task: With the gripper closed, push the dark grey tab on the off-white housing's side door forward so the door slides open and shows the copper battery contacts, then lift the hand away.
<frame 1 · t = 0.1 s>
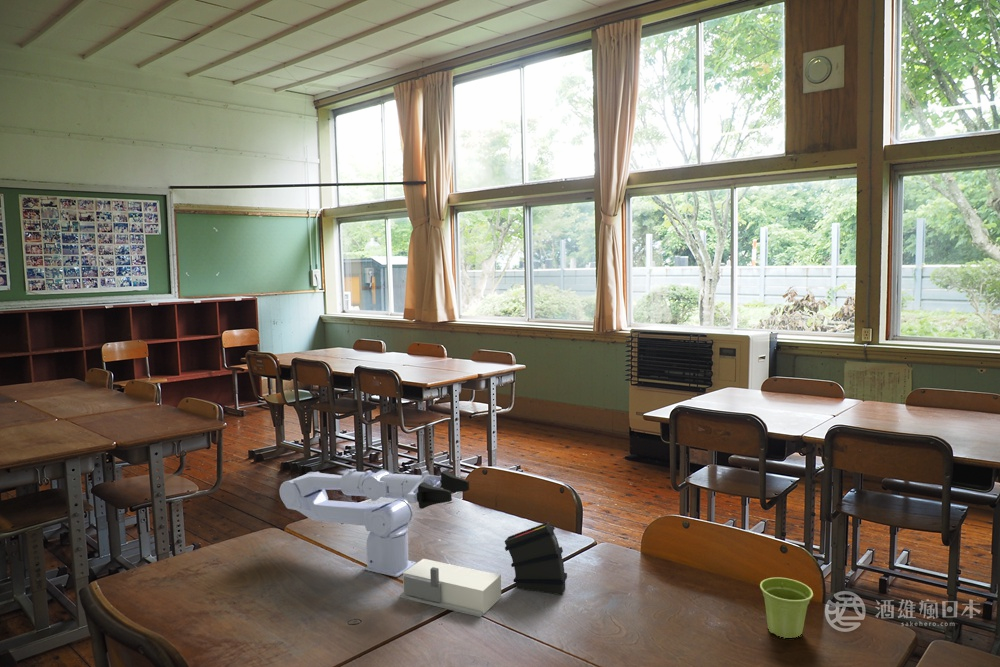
hand: (459, 490, 153), 22 cm above the table, tool horizontal, fingers open, 7 cm apart
camera housing: (452, 595, 149), on the table
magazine: (535, 589, 152), on the table
side door: (421, 581, 146), point 4 cm above the table, slide at 0.0 cm
plant pot: (785, 632, 132), on the table
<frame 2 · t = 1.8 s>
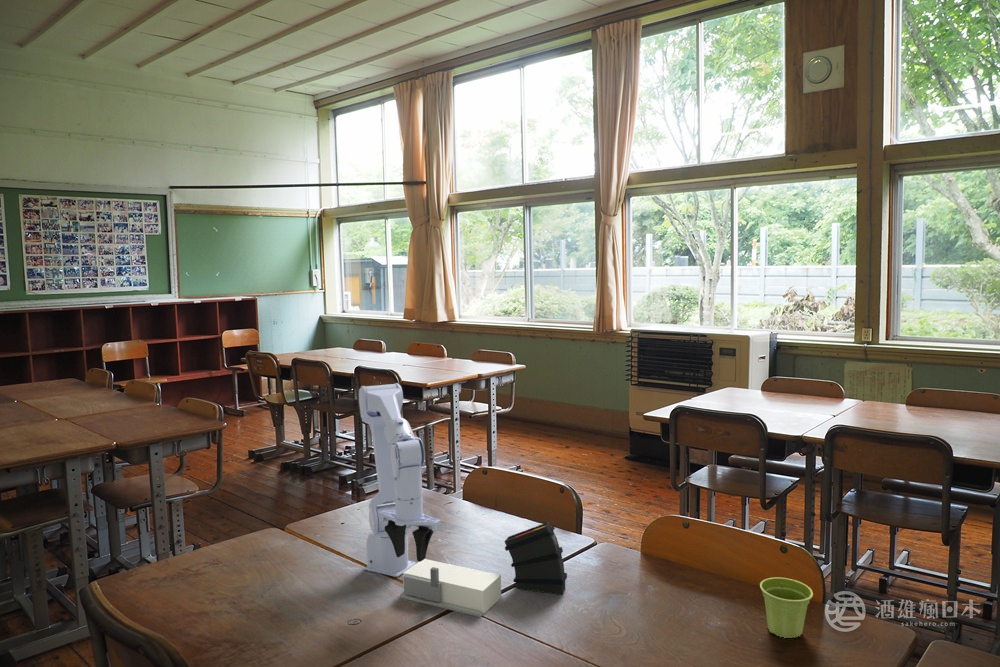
hand: (410, 557, 147), 9 cm above the table, tool pointing down, fingers open, 5 cm apart
nothing on the table moved.
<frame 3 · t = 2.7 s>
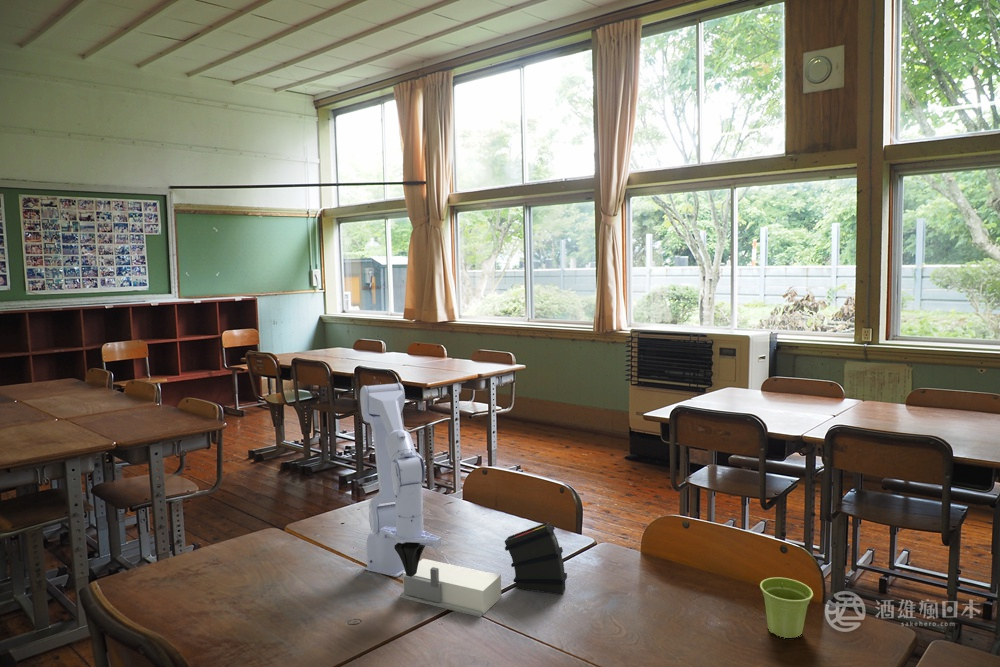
hand: (411, 574, 147), 6 cm above the table, tool pointing down, fingers closed
nothing on the table moved.
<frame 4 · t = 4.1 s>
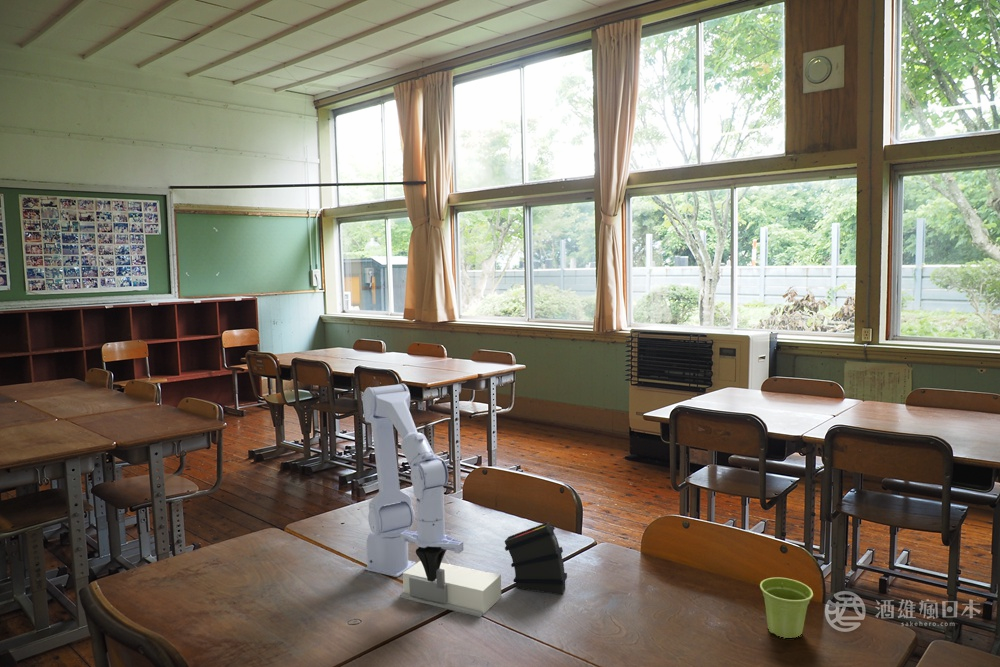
hand: (432, 579, 145), 6 cm above the table, tool pointing down, fingers closed
side door: (427, 582, 146), point 5 cm above the table, slide at 1.5 cm, touching gripper
everything else where it was.
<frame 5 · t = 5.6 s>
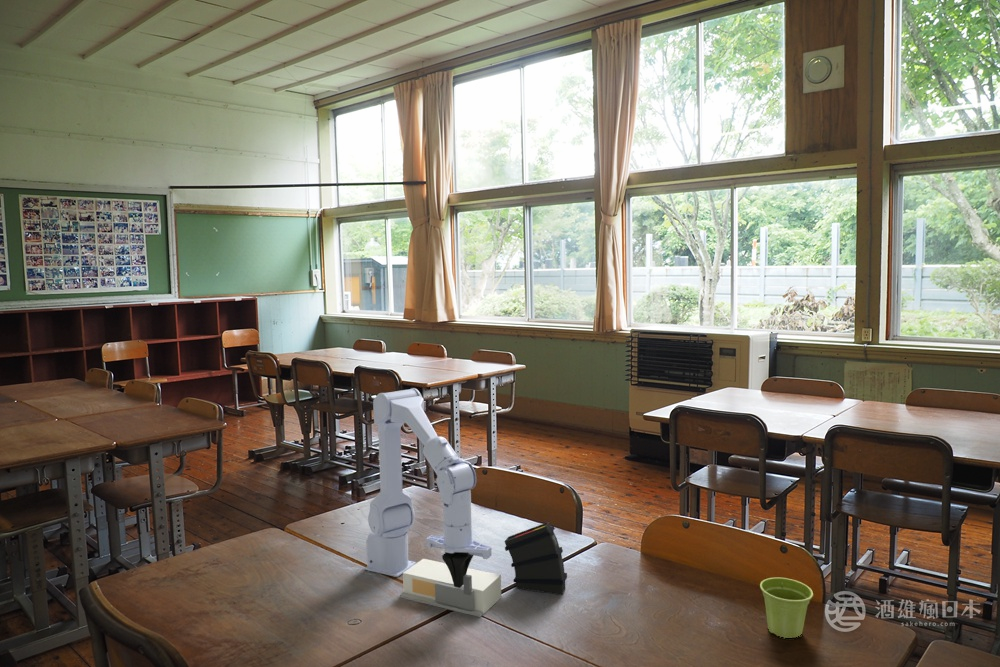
hand: (459, 585, 142), 6 cm above the table, tool pointing down, fingers closed
side door: (453, 589, 143), point 4 cm above the table, slide at 8.0 cm, touching gripper
everything else where it was.
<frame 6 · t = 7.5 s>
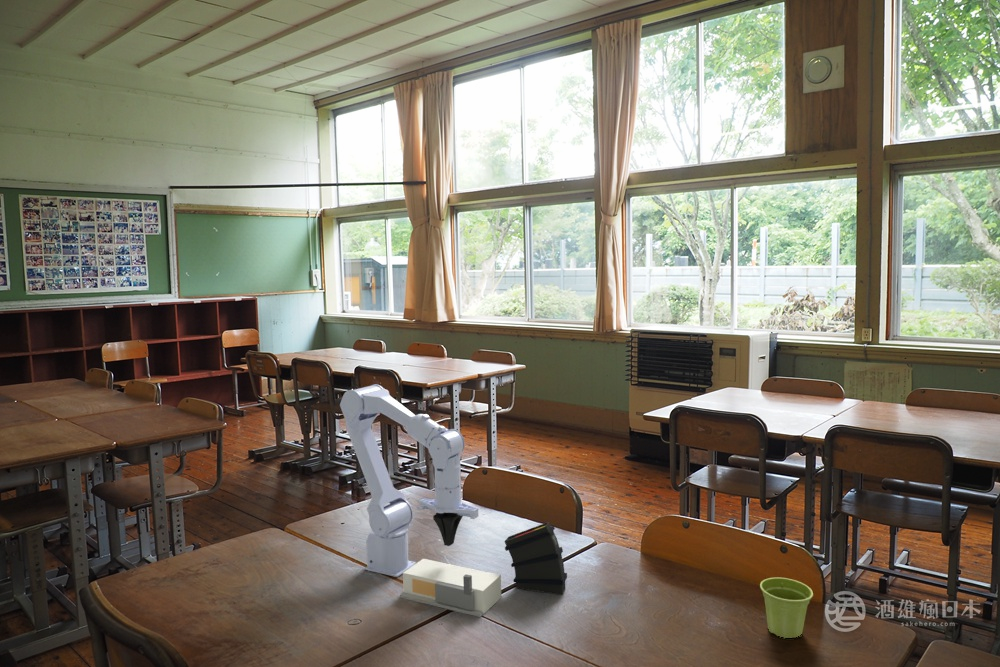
hand: (449, 544, 154), 9 cm above the table, tool pointing down, fingers closed
side door: (453, 589, 143), point 5 cm above the table, slide at 8.1 cm
everything else where it was.
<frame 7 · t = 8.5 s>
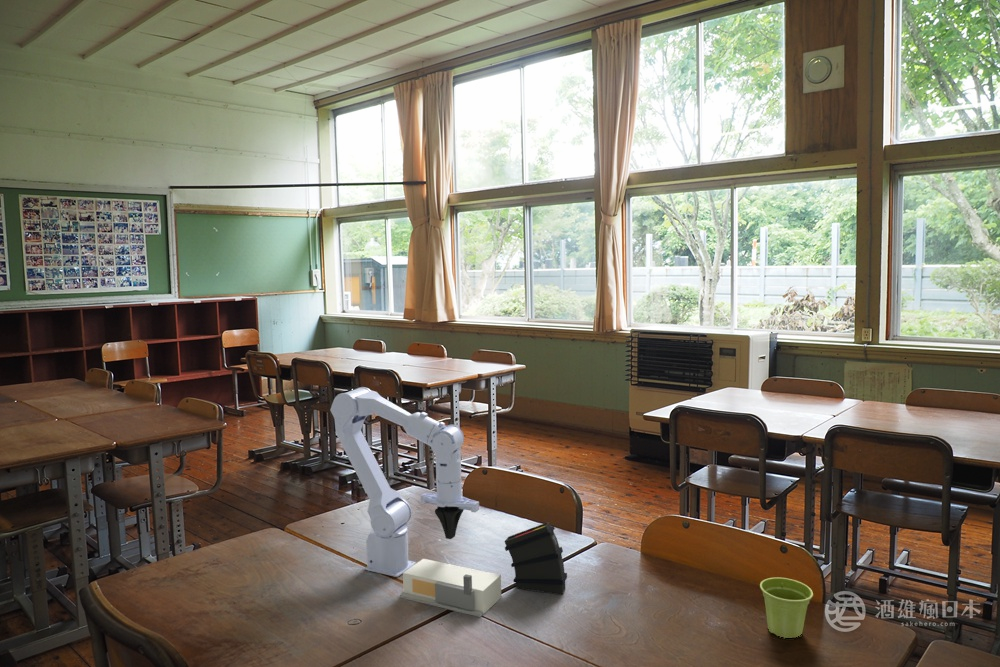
hand: (450, 537, 158), 9 cm above the table, tool pointing down, fingers closed
nothing on the table moved.
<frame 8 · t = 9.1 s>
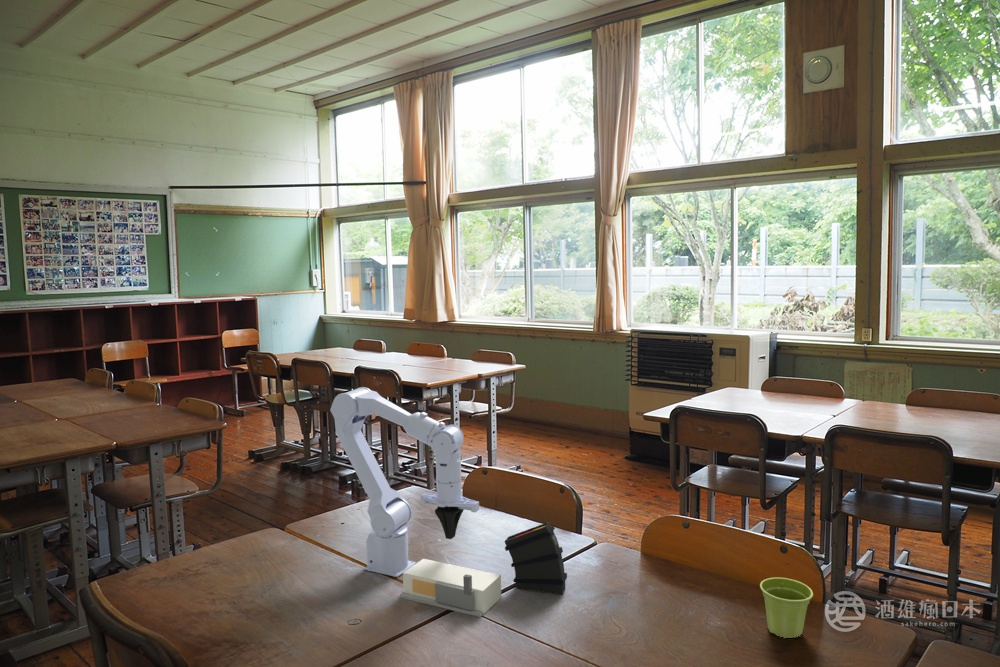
hand: (450, 537, 158), 9 cm above the table, tool pointing down, fingers closed
nothing on the table moved.
at the end: side door slide at 8.1 cm; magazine moved 0.3 cm from its start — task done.
